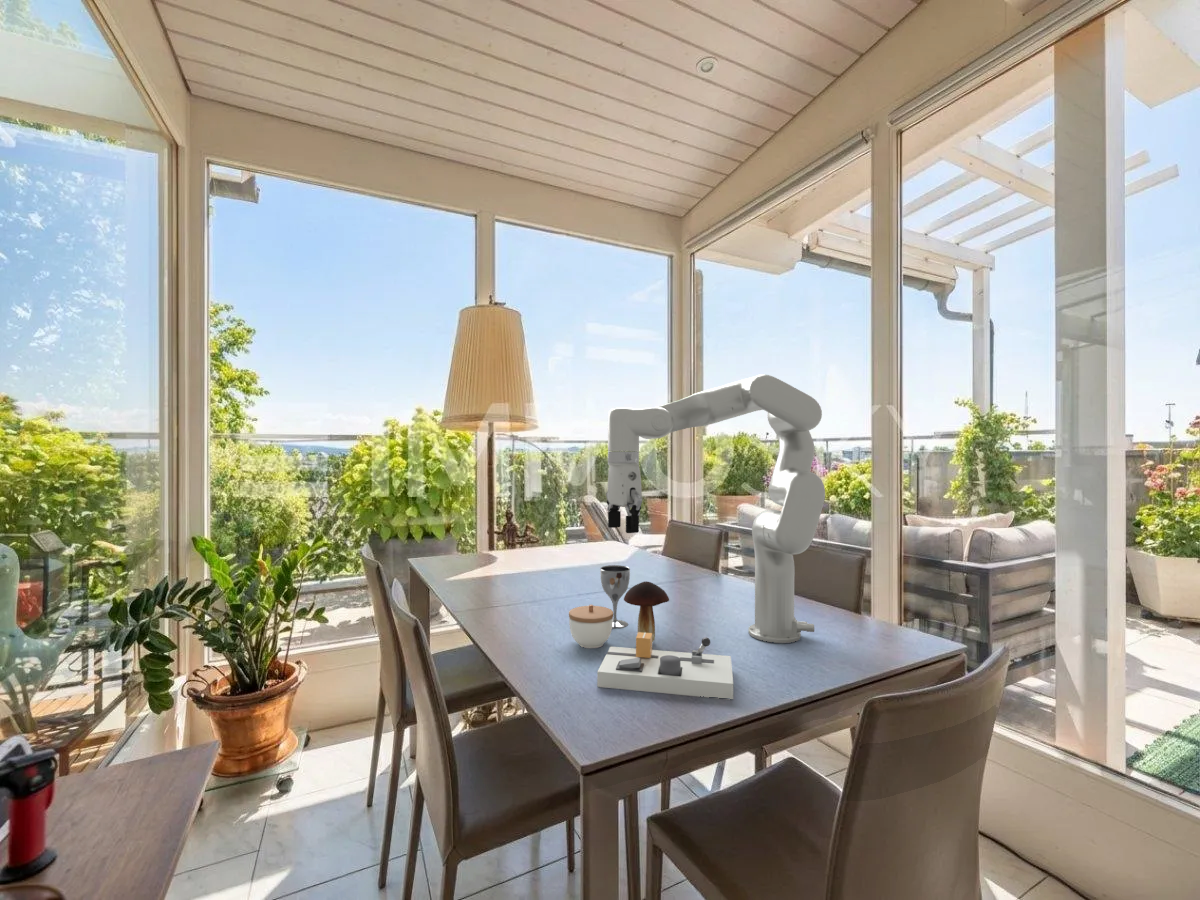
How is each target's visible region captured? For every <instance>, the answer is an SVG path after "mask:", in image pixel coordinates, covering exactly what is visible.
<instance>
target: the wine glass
mask: <svg viewBox="0 0 1200 900" xmlns="http://www.w3.org/2000/svg"><path fill="white" fill-rule="evenodd" d="M599 570H600V573H599V574H600V581H601V582H600V583H601V588H602V590H603V592H604V593H605V594H606V595H607V596H608V598H609V599H610V601H611V603H612V609H613V610H612V611H613V625H612V629H624V628H626V627H628V626H629V623H628V622H627V621H625V620H622V619H618V618H617V610H618V604H619V602H620V599H621V598H622V597H623V595H624V594H626V593H627V591H628V588H629V584H630V576H631V568H630V567H629V566H626V565H619V564H618V565H616V564H611V565H603V566H601V567H600V569H599Z"/></svg>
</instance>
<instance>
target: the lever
mask: <svg viewBox="0 0 1200 900" xmlns="http://www.w3.org/2000/svg"><path fill="white" fill-rule="evenodd" d="M710 645H711V640H710V638H709V637H707V636H705V637H703V638H702V639H701V644H700V646H699V648H698V649H697V652H696V654H695V656H701V654H703V653H704V651H705V650H706V648H707V647H709V646H710Z"/></svg>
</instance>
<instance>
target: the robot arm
mask: <svg viewBox="0 0 1200 900" xmlns="http://www.w3.org/2000/svg"><path fill="white" fill-rule="evenodd" d="M758 411H765V412H766V413H767V422H768V424H769V425H770V427H771V429H772V430H773V431H774V433H775V435H776V436H777V439H778V444H779V445H778V446H779V448H778V454H777V459H776V462H775V464H774V468H773V472H772V475H771V478H770V481H769V485H768V496H769V498H770V500H771V501H772V502H773V503H775V504H777V506H778V505H779V506H780V507H782V508H781V510H778V509H768V510H764V511H761V512H760V513H758V514H757V516H756V517H755V518H754V520H753V523H752V526H751V537H752V542H753V549H754V551H753V552H754V564H755V565H754V568H755V569H754V623H753V624H751V625H749V627H748V634H749V635H750V636H751V637H753V638H754V639H756V640H759V641H762V640H763V642H766V641H767V642H766V643H772V642H774V643H775V644H790V643H791V642H792V643H795V641H796V642H798V641H799V639H800V640H801V635H802V634H801V633H802V632H810V633H814V632H815V624H814V623H808V621H798V619H796V617H795V561H794V560H795V559H794V555H799V554H802V553H804V552H805V551H807V549H809V547H810V546H811V544H812V541H813V540H814V537H815V535H816V532H817V528H818V525H819V520H820V518H821V514H822V511H823V507H824V503H825V499H826V489H825V484H824V482H823V480H822V478H821V477H820V476H819V475H818V474H816V473H814V472H812V471H811V470H812V466H813V461H814V457H815V444H814V439H813V437H812V434H811V432H810V431H811V430H813V429H814V428H816V427H817V426H818V425H819V424H820V422H821V420H822V417H823V412H822V406H820V403H819V402H818V401H817V399H815V398H814V397H812V396H811V395H809V394H807V393H805V392H804V391H802V390H800V389H798V388H796V387H794V386H792V385H791V384H788V383H787V382H786V381H783V380H781V379H779V378H777V377H775V376H772V375H769V374H764V373H763V374H761V373H760V374H758V375H755V376H750V377H747V378H744V379H741V380H737V381H734V382H730V383H726V384H723V385H721V386H717V387H713V388H709V389H706V390H702V391H699V392H696V393H693V394H692V395H689V396H687V397H684V398H681V399H679V400H675V401H672V402H669V403H666V404H662V405H659V406H655V407H654V406H653V407H644V408H633V407H616V408H615V407H614V408H611V409H609V411H608V414H607V415H608V416H607V466H608V467H609V468H608V476H607V492H606V494H605V496H606V504H607V508H606V509H607V513H608V514H607V527H608V528H610V529H612V528H615V529H616V528H620V527H621V525H622V524H621V523H622V522H621V519H622V518H621V514H622V513H621V510H620V509H621V508H625V512H626V514H627V515H625V533H626V534H637V533H639V532H640V516H641V509H642V504H643V498H642V497H643V494H642V493H643V492H642V477H641V470H640V452H639V451H640V437H641V438H642V439H645V440H653V439H661V438H664V437H666V436H667V435H669V434H670V433H674V432H677V431H678V432H679V431H682V430H686V429H689V428H699V427H704V426H705V427H706V426H709V425H713V424H716V423H720V422H723V421H727V420H730V419H733V418H737V417H740V416H744V415H746V414H749V413H754V412H758Z"/></svg>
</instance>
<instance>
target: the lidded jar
mask: <svg viewBox="0 0 1200 900" xmlns="http://www.w3.org/2000/svg"><path fill="white" fill-rule="evenodd" d="M613 617H614V612H613V610H612V609H610V608H609V607H605V606H601V605H600V606H599V605H593V604H589V605H583V606H577V607H573V608H572V609H570V610H569V611H568V619H569V620H568V621H569V631H570V634H571V637H572V638H573V640H574V641H575V642H576V643H577V644H579V645H580V646H581V648H583V647H584V649H597V648H601V647H603V646H604V644H605V643H606V642H607V641H608V639H609V638H610V636H611V634H612V631H613V628H612V625H613ZM579 645H578V646H579ZM580 646H579V647H580Z"/></svg>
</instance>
